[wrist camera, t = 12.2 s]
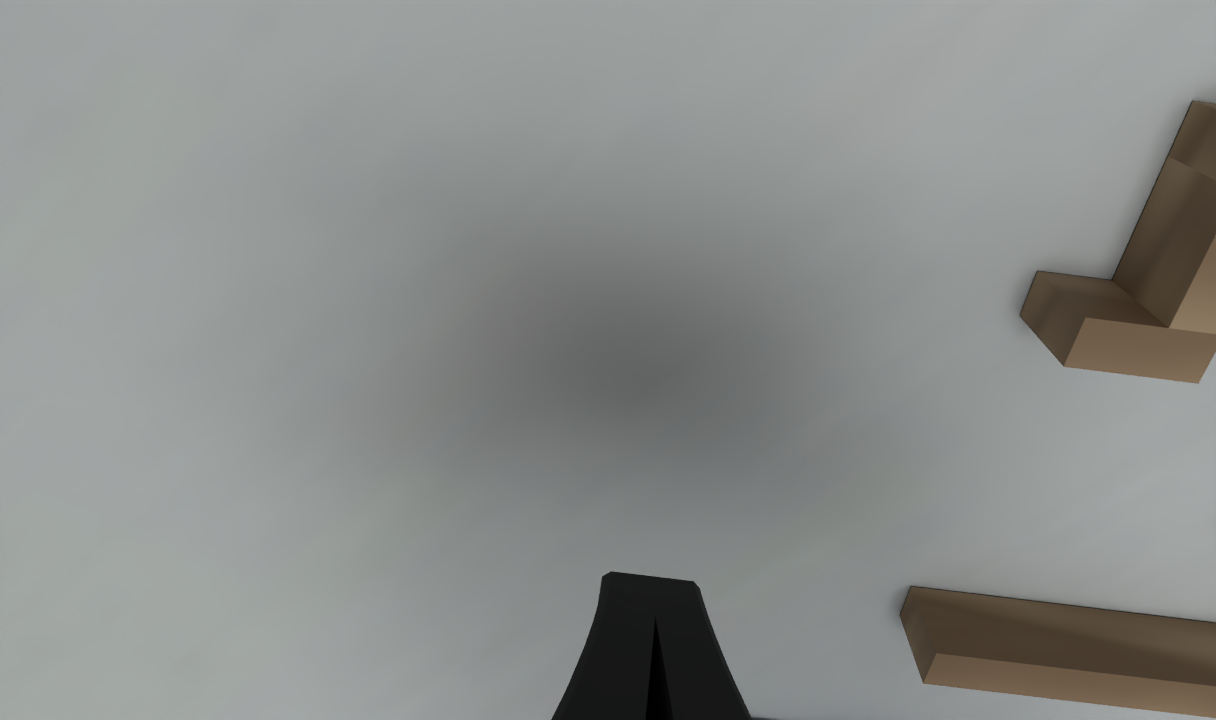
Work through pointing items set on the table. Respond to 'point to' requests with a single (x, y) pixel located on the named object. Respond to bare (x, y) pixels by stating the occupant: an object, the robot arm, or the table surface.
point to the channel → (1126, 344)
